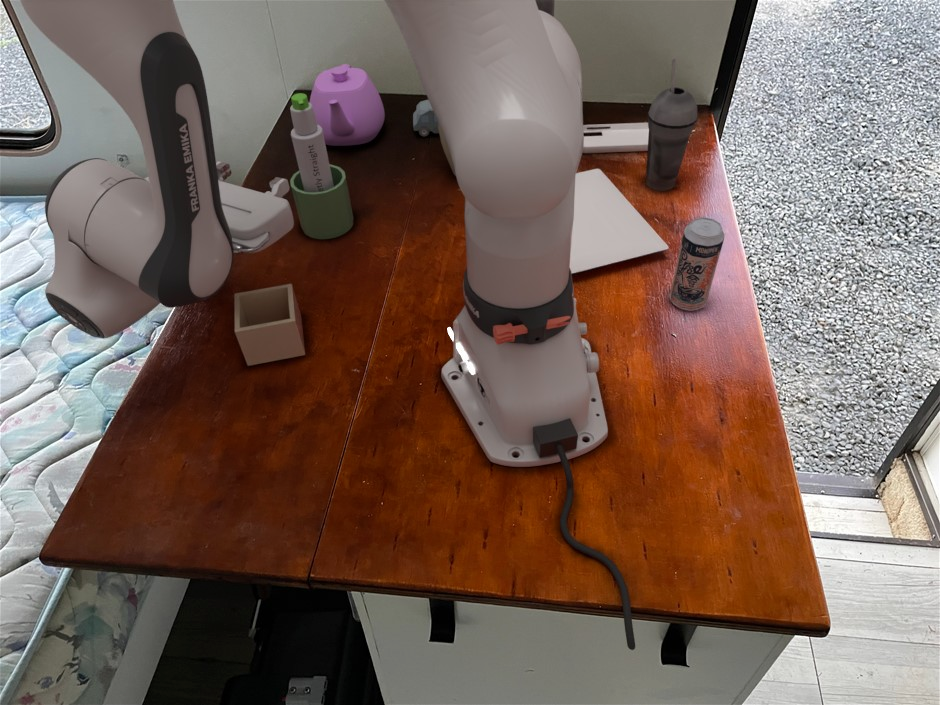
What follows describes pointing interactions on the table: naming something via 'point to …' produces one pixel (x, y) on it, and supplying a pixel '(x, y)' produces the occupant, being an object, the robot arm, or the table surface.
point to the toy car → (425, 119)
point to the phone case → (617, 138)
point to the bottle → (309, 146)
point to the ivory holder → (268, 324)
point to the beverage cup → (668, 134)
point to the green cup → (324, 207)
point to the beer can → (696, 263)
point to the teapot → (347, 106)
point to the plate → (607, 225)
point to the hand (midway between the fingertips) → (254, 174)
